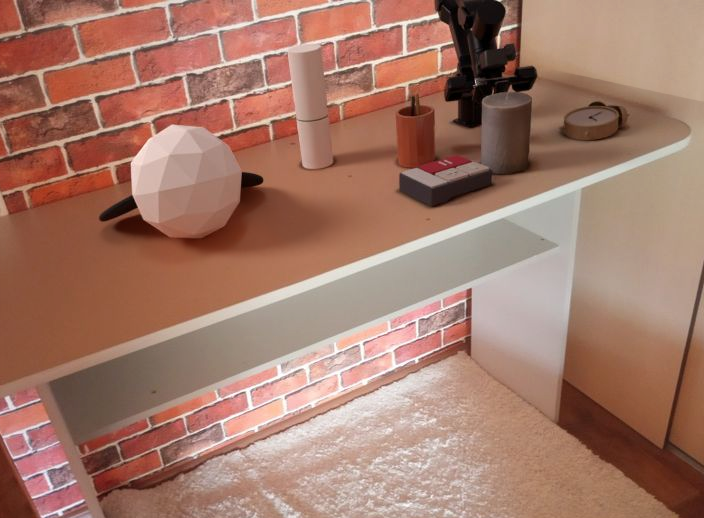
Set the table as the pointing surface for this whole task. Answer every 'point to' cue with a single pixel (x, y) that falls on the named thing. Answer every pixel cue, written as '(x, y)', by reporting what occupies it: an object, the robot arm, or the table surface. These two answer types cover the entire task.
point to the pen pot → (415, 136)
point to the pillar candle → (506, 132)
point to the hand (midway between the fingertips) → (496, 120)
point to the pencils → (414, 99)
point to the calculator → (444, 179)
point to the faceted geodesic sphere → (184, 183)
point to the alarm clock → (594, 121)
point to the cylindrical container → (310, 105)
